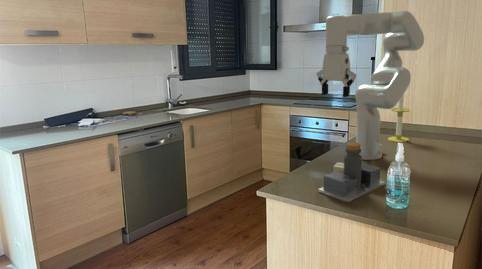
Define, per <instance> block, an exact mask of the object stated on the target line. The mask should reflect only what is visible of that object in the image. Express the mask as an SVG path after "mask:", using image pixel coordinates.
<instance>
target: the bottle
mask: <svg viewBox="0 0 482 269" xmlns="http://www.w3.org/2000/svg"><path fill="white" fill-rule="evenodd" d="M345 144H346V148H345V153H346V154H345V155H344V156H343V163H344V174H345V175H348V176H351V177H355V178H357V188H358V187H360V186H361V169H362V163H363V159H362V156H361V155H359V153H361V149H360V146H361V144H360V143H356V141H351V142H347V143H345Z"/></svg>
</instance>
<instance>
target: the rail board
mask: <svg viewBox="0 0 482 269" xmlns="http://www.w3.org/2000/svg"><path fill="white" fill-rule="evenodd" d="M385 184H386V182H385V181H383V180H381V167H377V166H373V165H370V164H365V163H363V162H362V169H361V186H360V187H358V188H357V178H355V177H351V176H348V175H345V174H341V173H338V172H333V171H332V172H330V173H328V174H325V175H323V186H322V187H319V188H317V193H321V194H323V195H325V196H326V195H327V196H328V197H332V198H334V199H337V200H340V201H342V202H345V203H351V201H353V200H356V199H358V198H360V197H362V196H364V195H366V194H368V193H371V192H373V191H374V190H376V189H379V188H380V187H382V186H384V185H385Z"/></svg>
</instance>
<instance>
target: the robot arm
mask: <svg viewBox="0 0 482 269" xmlns="http://www.w3.org/2000/svg"><path fill="white" fill-rule="evenodd" d="M325 19H326V20H325V54H324V56H323V60H322V61H323V62H322V69H321V70H319V71H317V72H316V77H317V78H318V79H317V80H318V81H319V83H320V85H321V94H322V96H325V95H329V83H328V82H329V81H330V82H331V81H333V82H341V83H342V84H343V85H344V86H342V97H343V98H348V97H349V96H350V93H351V92H350V91H351V86H352V84H354V83H355V80H356V78H357V74H356V73H354V72H353V71H352V70H351V62H350V56H349V53H347V52H348V51H349V50H350V47H349V46H348V44H347V42H348V41H347V40H348V39H347V36H357V35H358V36H370V35H371V36H373V35H381V34H382V35H384V34H385V35H384V37H383V41H382V45H383V46H382V47H383V58H382V60H381V61H380V63H379V65H378V66H377V67H376V69H375V70H374V71H373V73H372V74H371V77H370V83H364V84H360V85H359V86H358V87H357V88H356V91H355V102H356V132H355V133H356V134H355V142H356V143H360V144H361V146H360V149H361V153H359V155H361V156H362V161H364V160H365V161H375V160H380V159H381V158H382V157H383V154H382V152H380V151H379V150H380V149H383V147H384V145H383V144H382V143H380V131H381V130H380V127H381V115H380V111H379V109H381V110H382V109H383V110H390V109H393V108H396V106H397V104H399V100H400V99H401V97H402V96H403V94H404V95H405V92H406V91H407V90H408V88H409V85H410V83H411V72H410V70H409V69H408V68H406V67H403V60H402V57H401V56H400V54H399V52H400V51H408V52H409V51H411V52H414V51H418V50H420V49H421V48H423V46H424V43H425V35H424V32H423V30H422V29H421V26H420V24H419V22H418V21H417V19H416V18H415V15H413V14H412V12H410V11H408V10H403V11H402V10H401V11H400V10H399V11H390V12H368V13H361V14H355V13H354V14H345V15H343V14H342V15H330V16H327V17H326V18H325Z"/></svg>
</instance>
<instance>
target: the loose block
mask: <svg viewBox="0 0 482 269" xmlns="http://www.w3.org/2000/svg"><path fill="white" fill-rule="evenodd" d="M332 167H333V168H332V172H338V173H341V174H344V162H336V163H335V164H334V165H333V166H332Z"/></svg>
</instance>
